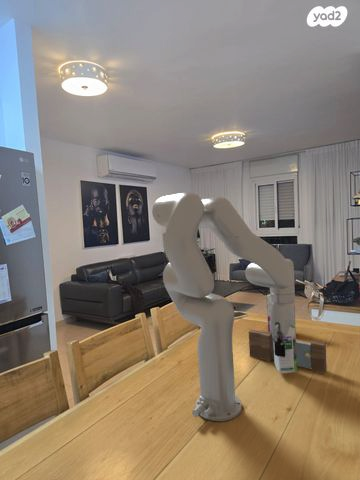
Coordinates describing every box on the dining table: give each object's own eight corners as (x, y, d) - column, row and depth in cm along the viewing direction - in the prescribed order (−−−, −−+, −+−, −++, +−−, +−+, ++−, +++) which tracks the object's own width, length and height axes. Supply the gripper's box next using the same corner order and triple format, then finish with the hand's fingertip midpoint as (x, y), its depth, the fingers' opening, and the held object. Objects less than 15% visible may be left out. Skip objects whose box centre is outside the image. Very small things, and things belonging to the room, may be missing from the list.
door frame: (324, 374, 100) (323, 345, 100) (249, 356, 116) (247, 331, 116) (326, 370, 103) (325, 342, 102) (252, 353, 119) (251, 329, 118)
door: (310, 370, 103) (309, 344, 102) (271, 360, 111) (270, 337, 110) (312, 367, 105) (311, 342, 104) (273, 358, 113) (272, 335, 112)
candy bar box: (296, 334, 135) (294, 296, 133) (289, 337, 132) (288, 299, 130) (274, 327, 144) (272, 292, 142) (267, 330, 141) (265, 294, 139)
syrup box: (279, 373, 99) (277, 328, 98) (274, 364, 105) (272, 322, 104) (297, 372, 99) (295, 327, 98) (291, 363, 105) (289, 321, 104)
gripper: (280, 290, 110) (282, 339, 111) (260, 303, 96) (262, 359, 97) (302, 292, 105) (304, 343, 106) (284, 306, 91) (287, 364, 93)
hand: (284, 350), depth 102 cm, fingers closed on syrup box, 7 cm apart
